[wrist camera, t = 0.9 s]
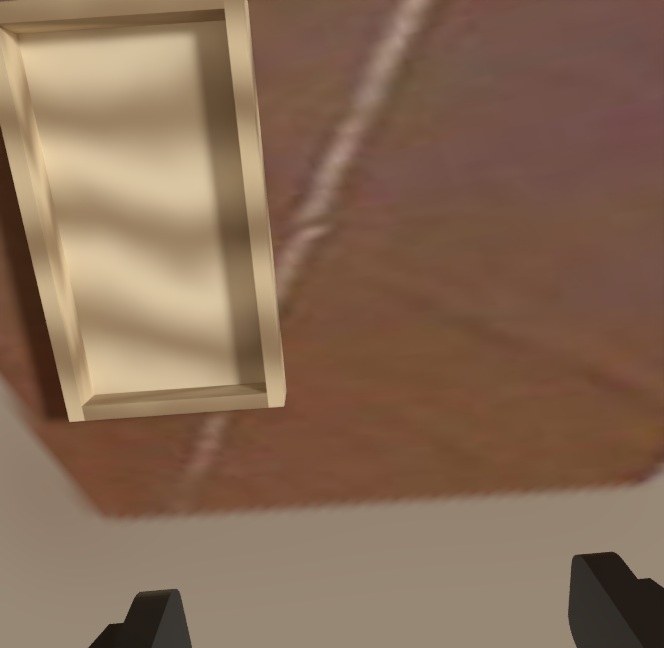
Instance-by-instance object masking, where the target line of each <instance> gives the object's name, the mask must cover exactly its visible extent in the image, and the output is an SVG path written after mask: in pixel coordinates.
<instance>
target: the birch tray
mask: <svg viewBox="0 0 664 648" xmlns="http://www.w3.org/2000/svg"><path fill="white" fill-rule="evenodd" d="M0 125H1V129H2V134H3V138H4V142H5V147H6V151H7V155H8V160H9V164H10V168H11V173H12V177H13V181H14V185H15V190H16V194H17V198H18V203H19V207H20V211H21V216H22V220H23V224H24V228H25V233H26V237H27V241H28V246H29V250H30V254H31V259H32V263H33V267H34V271H35V276H36V280H37V284H38V289H39V293H40V297H41V302H42V306H43V310H44V315H45V319H46V323H47V327H48V332H49V336H50V340H51V345H52V349H53V353H54V358H55V362H56V366H57V370H58V375H59V379H60V383H61V388H62V392H63V396H64V401H65V405H66V409H67V413H68V418H69V422H75V421H88V420H102V419H116V418H130V417H144V416H158V415H171V414H185V413H199V412H213V411H227V410H241V409H254V408H268V407H282V406H284V403H285V397H286V382H285V372H284V362H283V352H282V342H281V332H280V322H279V312H278V302H277V292H276V281H275V271H274V261H273V251H272V241H271V231H270V221H269V211H268V201H267V191H266V181H265V171H264V161H263V151H262V141H261V131H260V121H259V110H258V100H257V90H256V80H255V70H254V60H253V50H252V40H251V30H250V20H249V10H248V2H247V0H18V1H3V2H0Z"/></svg>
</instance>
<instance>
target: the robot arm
mask: <svg viewBox="0 0 664 648" xmlns="http://www.w3.org/2000/svg"><path fill="white" fill-rule="evenodd" d="M568 617H569V624H570V629H571V633H572V636H573V639H574V641H575V644H576V647H577V648H664V588H663V587H662V586H660V585H659V584H657V583H656V582H655V581H653V580H652V579H651V578H647V579H637V578H636V576H635V575H634V574H633V573H632V571H631V570H630V569H629V567H628V566H627V565H626V563H625V562H624V561H623V560H622V558H621V557H620V556H619V555H617V554H616V553H614V552H605V553H604V552H603V553H593V554H581V555H575V556H574V557H573V559H572V566H571V580H570V595H569V609H568ZM89 648H192V645H191V641H190V636H189V631H188V627H187V623H186V618H185V614H184V610H183V604H182V600H181V596H180V593H179V591H178V590H177V589H168V590H158V591H146V592H139V593H138V594H137V595H136V597H135V598H134V600H133V602H132V605H131V607H130V609H129V612H128V614H127V616H126V619H125V621H124V623H117V624H109V625H108V626H107V627H106V628H105V630H104V631H103V632H102V633H101V634H100V635H99V636H98V638H97V639H96V640H95V641H94V642H93V643H92V644H91V645H90V647H89Z"/></svg>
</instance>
